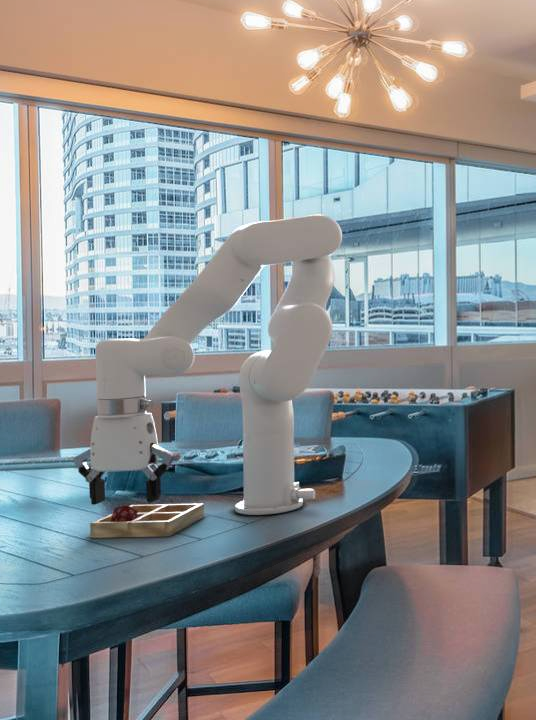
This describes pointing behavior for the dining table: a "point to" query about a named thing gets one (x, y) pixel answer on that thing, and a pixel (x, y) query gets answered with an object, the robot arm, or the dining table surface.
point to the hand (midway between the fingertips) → (125, 501)
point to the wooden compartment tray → (149, 521)
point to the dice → (124, 514)
